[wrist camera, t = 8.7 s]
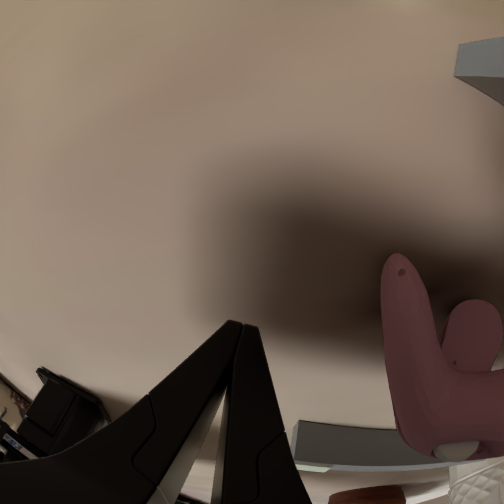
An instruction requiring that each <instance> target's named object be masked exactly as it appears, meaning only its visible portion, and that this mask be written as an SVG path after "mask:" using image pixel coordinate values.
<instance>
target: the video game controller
mask: <svg viewBox="0 0 504 504" xmlns="http://www.w3.org/2000/svg"><path fill="white" fill-rule="evenodd" d="M380 303H381V322H382V331H383V340H384V352H385V365H386V371H387V377H388V383H389V389H390V393H391V399H392V404H393V410H394V416H395V424H396V428H397V432H398V434H399V436H400V437H401V439H402V440H403V441H404V443H405V444H407V445H408V446H409V447H411V448H412V449H414V450H415V451H417V452H419V453H421V454H423V455H426V456H429V457H433V458H437V459H440V460H443V461H445V462H454V463H458V462H462V461H473V460H481V459H489V458H497V457H502V456H504V369H499V370H495V371H491V368H492V366H493V363H494V361H495V359H496V357H497V355H498V353H499V351H500V348H501V344H502V340H503V324H502V320H501V317H500V315H499V312H498V311H497V310H496V308H495V307H494V306H493V305H491V304H490V303H488V302H486V301H483V300H480V299H471V300H466V301H463V302H462V303H460V304H458V305H457V306H456V307H455V308H454V309H453V310H452V311H451V313H450V314H449V316H448V318H447V319H446V321H445V323H444V325H443V327H442V330H441V333H440V336H439V340H438V339H437V334H436V329H435V324H434V319H433V315H432V310H431V306H430V302H429V297H428V293H427V290H426V288H425V286H424V284H423V282H422V280H421V278H420V276H419V274H418V272H417V270H416V268H415V267H414V266H413V264H412V263H411V262H410V260H409V259H408V258H407V257H405V256H404V255H402V254H401V253H394V254H392V255H390V256H389V258H388V259H387V261H386V263H385V264H384V267H383V270H382V274H381V284H380Z"/></svg>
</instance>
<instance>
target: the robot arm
mask: <svg viewBox="0 0 504 504" xmlns="http://www.w3.org/2000/svg"><path fill="white" fill-rule="evenodd" d="M36 373H37V374H38V376H39V378H40V379H41V381H42V382H43V384H44V385H43V387H42V388H41V390H40V391H39V393H38V394H37V396H36V397H35V399H34V400H33V402H32V403H31V405H30V406H29V408H28V410H27V411H26V413H25V417H24V419H23V420H22V422H21V423H20V425H19V427H18V428H17V430H16V432H17V433H18V434H17V433H16V432H15V431H14V430H13V429H11V428H10V425H8V424H7V423H6V422H4V421H3V420H2V419H0V448H1V449H2V450H4V451H5V452H6V453H5V454H4V453H2V452H0V504H174V503H175V501H176V499H177V497H178V495H179V493H180V491H181V489H182V487H183V485H184V482H185V480H186V478H187V476H188V474H189V472H190V470H191V468H192V465H193V463H194V461H195V459H196V457H197V455H198V452H199V450H200V448H201V446H202V444H203V442H204V439H205V437H206V435H207V433H208V431H209V428H210V426H211V424H212V422H213V419H214V417H215V415H216V413H217V410H218V408H219V406H220V404H221V401H222V399H223V396H224V394H225V399H224V405H223V413H222V420H221V428H220V435H219V443H218V450H217V458H216V465H215V473H214V481H213V488H212V496H211V504H312V502H311V500H310V498H309V495H308V493H307V491H306V489H305V487H304V484H303V482H302V480H301V477H300V475H299V472H298V470H297V467H296V465H295V462H294V459H293V456H292V452H291V449H290V446H289V442H288V439H287V435H286V432H284V431H285V428H284V424H283V420H282V417H281V413H280V409H279V405H278V401H277V398H276V394H275V390H274V386H273V382H272V378H271V375H270V371H269V367H268V363H267V359H266V355H265V351H264V347H263V343H262V339H261V336H260V332H259V329H258V327H257V326H253V325H249V324H244V325H243V324H242V323H241V322H238V321H234V320H228V321H227V322H226V323H224V324H223V325H222V326H221V327H220V328H219V329H218V330H217V331H216V332H215V333H214V334H213V335H212V336H211V337H209V338H208V339H207V340H206V341H205V342H204V343H203V344H202V345H201V346H200V347H199V348H198V349H196V350H195V351H194V352H193V353H192V354H191V355H190V356H189V357H188V358H187V359H185V360H184V361H183V362H182V363H181V364H180V365H179V366H178V367H177V368H176V369H174V370H173V371H172V372H171V373H170V374H169V375H168V376H167V377H166V378H164V379H163V380H162V381H161V382H160V383H159V384H158V385H157V386H155V387H154V388H153V389H152V390H151V391H150V392H149V393H148V394H149V395H148V394H146V395H145V396H144V397H143V398H142V399H140V400H139V401H138V402H137V403H136V404H135V405H133V406H132V407H131V408H130V409H128V410H127V411H126V412H125V413H123V414H122V415H121V416H119V417H118V418H116V419H115V420H113V421H112V422H111V421H110V419H109V417H108V415H107V414H106V412H105V410H104V408H103V406H102V404H101V402H100V401H99V400H97V399H96V398H94V397H92V396H90V395H88V394H86V393H84V392H82V391H80V390H78V389H76V388H74V387H72V386H71V385H69V384H67V383H65V382H63V381H62V380H60V379H58V378H56V377H55V376H53V375H51V374H49V373H48V372H46V371H44V370H43V369H41V368H38V369H37V370H36ZM226 388H227V389H226ZM225 391H226V393H225ZM6 434H7V435H8V436H9V437H10V438H11V439H13V440H14V441H15V442H16V443H17V444H19V445H20V446H21V447H23V448H24V449H25V450H26V451H28V452H29V453H30V454H32V455H33V456H35V457H36V459H29V458H28V457H27V456H25V455H24V454H23V453H21V452H20V451H19V450H17V449H16V448H15V447H14V446H12V445H11V444H10V443H9V442H7V441H6V440H5V439H4V436H5V435H6Z"/></svg>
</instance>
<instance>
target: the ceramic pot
mask: <svg viewBox="0 0 504 504" xmlns="http://www.w3.org/2000/svg"><path fill="white" fill-rule="evenodd" d="M328 504H406V498H405V496H404V492H403V491H402V489H401V487H399V486H377V487H368V488H360V489H354V490H348V491H343V492H338V493H335V494H332V495H331V496H330V497H329V502H328Z"/></svg>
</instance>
